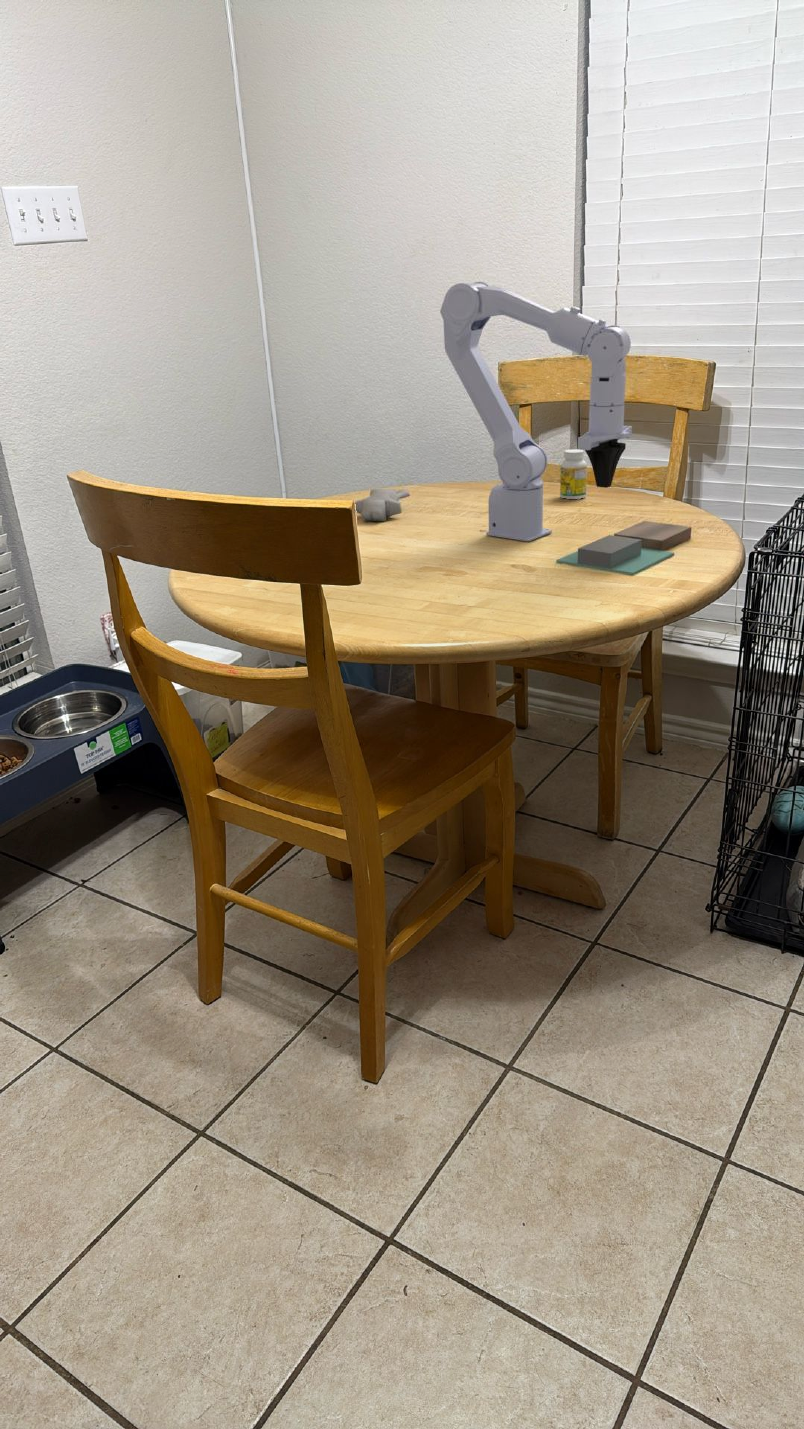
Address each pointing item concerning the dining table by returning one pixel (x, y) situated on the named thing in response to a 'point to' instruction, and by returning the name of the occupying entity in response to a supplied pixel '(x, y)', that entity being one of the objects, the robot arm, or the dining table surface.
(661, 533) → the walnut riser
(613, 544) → the slate tile
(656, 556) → the teal mat
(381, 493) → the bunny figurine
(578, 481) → the supplement bottle
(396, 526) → the dining table surface
